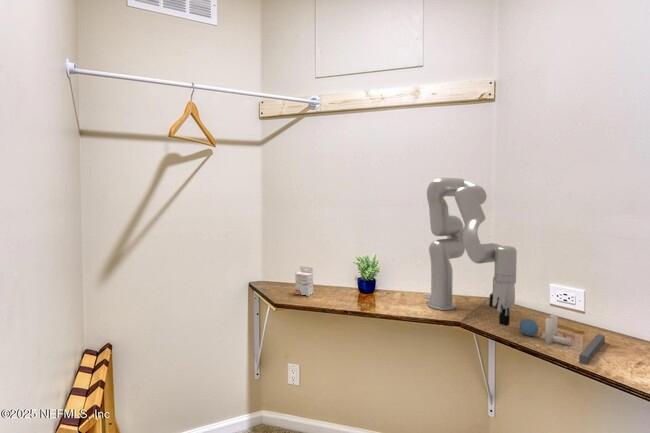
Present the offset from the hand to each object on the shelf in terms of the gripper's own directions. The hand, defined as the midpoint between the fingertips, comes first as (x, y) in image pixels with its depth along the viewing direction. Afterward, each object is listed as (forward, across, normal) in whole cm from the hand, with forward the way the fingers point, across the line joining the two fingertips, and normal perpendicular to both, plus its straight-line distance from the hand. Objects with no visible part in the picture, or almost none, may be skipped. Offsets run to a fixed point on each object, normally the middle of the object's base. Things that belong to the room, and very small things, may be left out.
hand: (504, 324), depth 136 cm
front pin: (+1, 0, +13) cm, 13 cm away
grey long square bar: (+2, 0, +28) cm, 28 cm away
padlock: (+2, -25, -13) cm, 28 cm away
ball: (-2, 0, +9) cm, 9 cm away
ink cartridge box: (+2, +28, -91) cm, 95 cm away
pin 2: (+2, -2, +16) cm, 16 cm away
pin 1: (+2, +2, +16) cm, 16 cm away
